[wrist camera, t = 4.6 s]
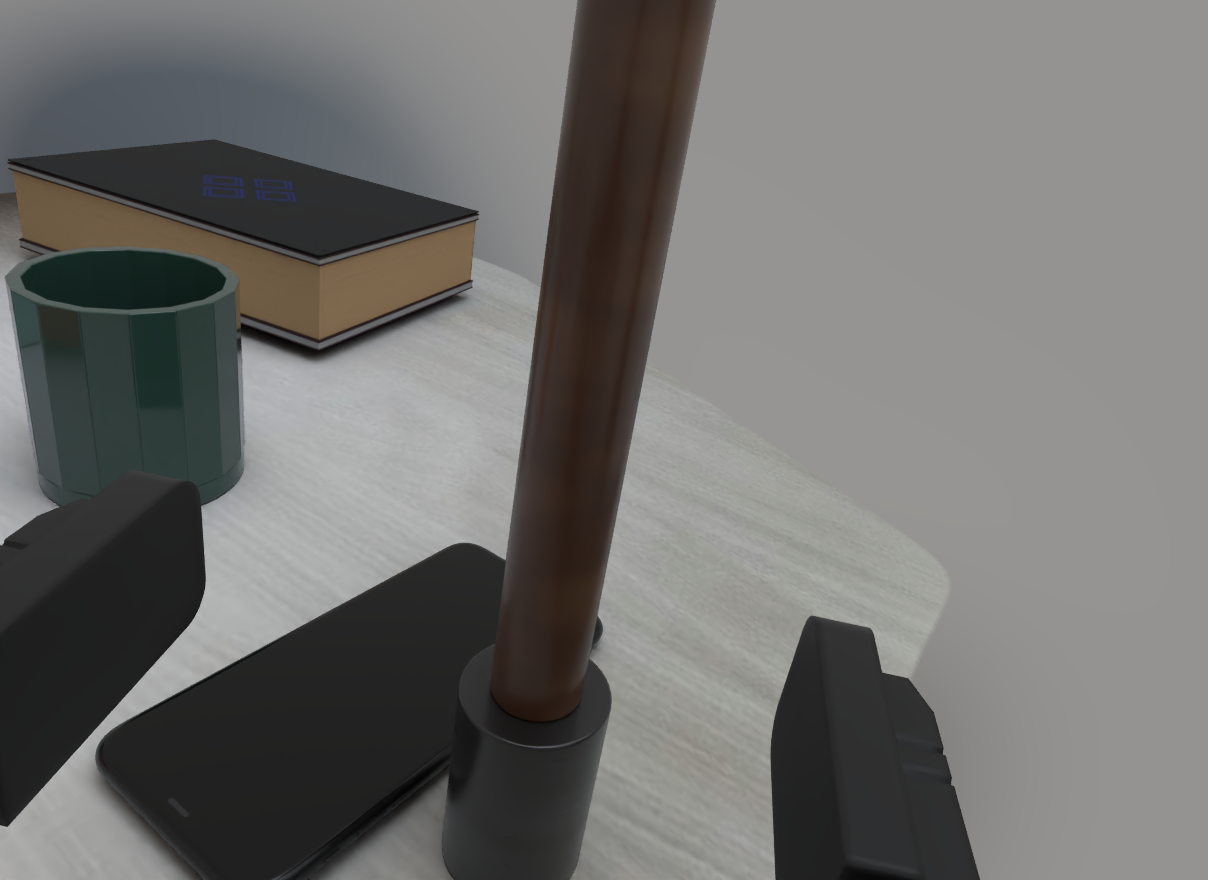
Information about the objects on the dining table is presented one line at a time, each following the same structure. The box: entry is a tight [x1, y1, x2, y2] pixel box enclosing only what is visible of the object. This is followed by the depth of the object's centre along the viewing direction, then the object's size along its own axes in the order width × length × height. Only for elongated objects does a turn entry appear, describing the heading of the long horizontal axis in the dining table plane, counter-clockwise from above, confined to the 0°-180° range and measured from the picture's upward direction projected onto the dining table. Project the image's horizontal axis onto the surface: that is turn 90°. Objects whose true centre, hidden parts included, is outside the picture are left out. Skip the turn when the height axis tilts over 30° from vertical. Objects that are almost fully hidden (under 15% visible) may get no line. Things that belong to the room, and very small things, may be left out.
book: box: [8, 140, 479, 351], centre depth 62 cm, size 17×25×7 cm
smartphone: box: [95, 543, 603, 880], centre depth 29 cm, size 8×1×16 cm
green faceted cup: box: [5, 246, 245, 506], centre depth 37 cm, size 8×8×9 cm
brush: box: [442, 0, 716, 880], centre depth 19 cm, size 4×4×28 cm
